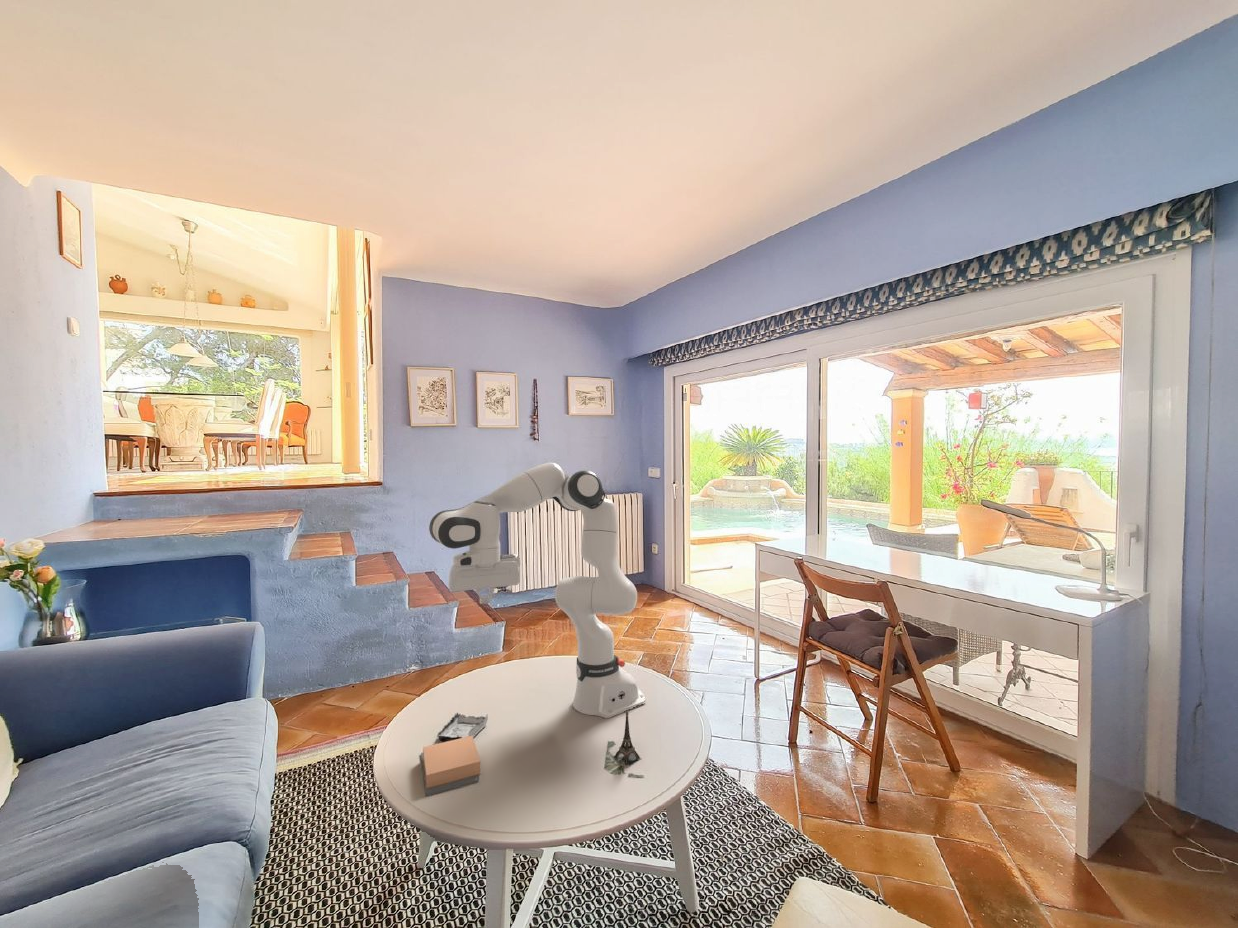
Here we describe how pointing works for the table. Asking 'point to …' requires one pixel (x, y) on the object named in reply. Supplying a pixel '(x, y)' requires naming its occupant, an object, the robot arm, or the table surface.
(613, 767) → the eiffel tower figurine
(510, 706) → the table surface
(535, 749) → the table surface
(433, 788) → the mat
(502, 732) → the table surface
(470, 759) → the orange block
